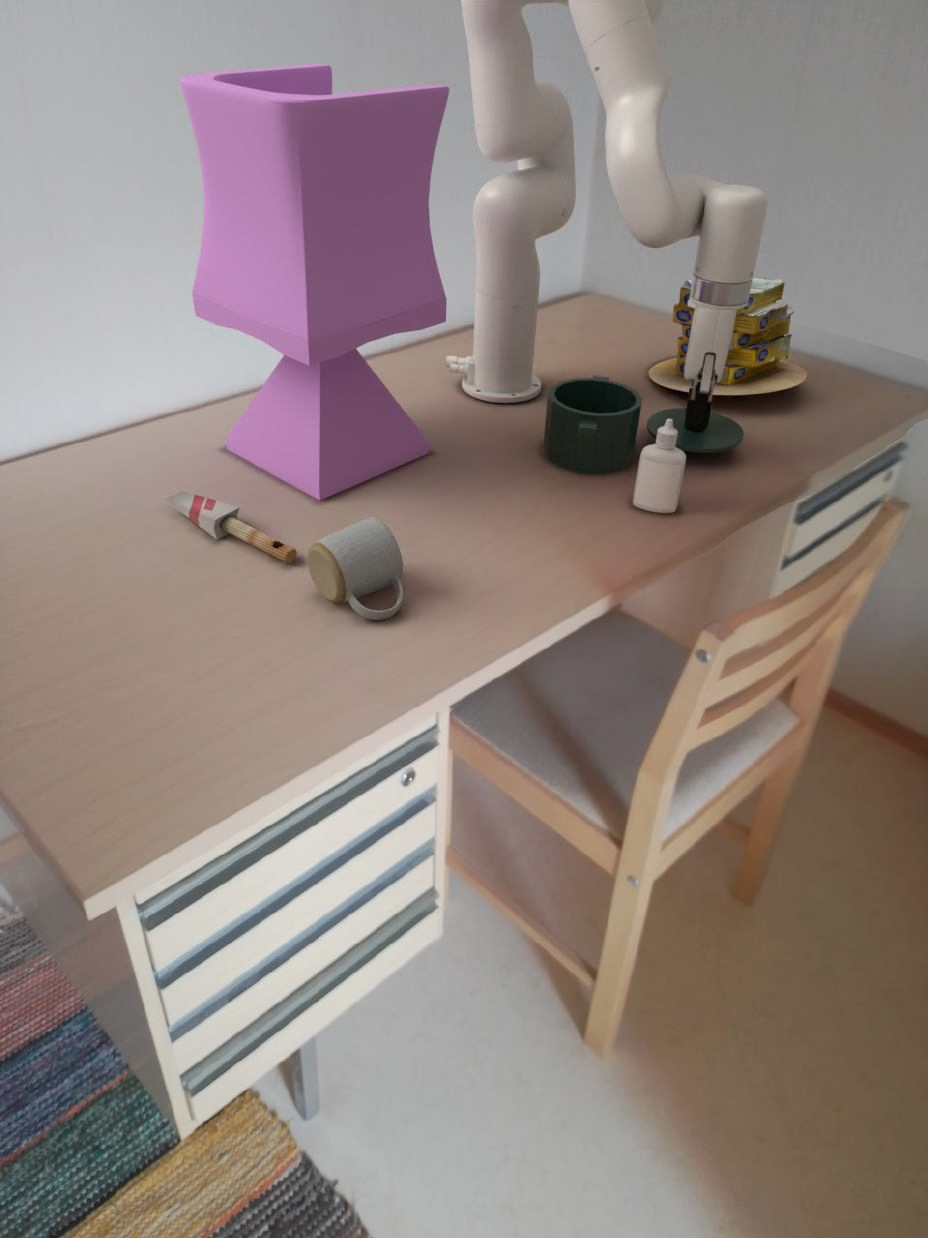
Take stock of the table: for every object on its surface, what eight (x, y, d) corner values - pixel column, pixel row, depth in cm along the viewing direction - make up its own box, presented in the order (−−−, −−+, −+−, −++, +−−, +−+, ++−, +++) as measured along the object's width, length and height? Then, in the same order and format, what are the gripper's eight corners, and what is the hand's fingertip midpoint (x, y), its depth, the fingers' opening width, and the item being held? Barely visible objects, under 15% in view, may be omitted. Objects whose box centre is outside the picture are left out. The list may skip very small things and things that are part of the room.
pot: (534, 475, 128) (539, 416, 123) (552, 421, 143) (558, 366, 138) (628, 488, 126) (637, 429, 121) (637, 431, 141) (645, 376, 136)
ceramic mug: (304, 587, 105) (300, 527, 100) (365, 562, 109) (364, 504, 105) (360, 635, 99) (358, 573, 94) (422, 607, 103) (424, 547, 98)
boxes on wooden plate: (618, 371, 160) (632, 269, 150) (724, 346, 171) (744, 250, 161) (723, 427, 143) (747, 316, 133) (833, 396, 154) (863, 292, 144)
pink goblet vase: (442, 453, 133) (452, 85, 106) (318, 508, 119) (293, 103, 92) (336, 404, 144) (321, 62, 118) (212, 449, 131) (163, 75, 104)
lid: (642, 449, 132) (649, 407, 128) (648, 410, 142) (654, 371, 139) (743, 461, 129) (752, 419, 126) (741, 421, 140) (750, 381, 137)
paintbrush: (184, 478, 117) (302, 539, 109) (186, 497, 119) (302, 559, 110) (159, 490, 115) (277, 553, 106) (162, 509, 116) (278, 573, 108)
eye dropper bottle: (661, 520, 120) (677, 432, 113) (626, 503, 123) (640, 416, 116) (682, 509, 122) (699, 422, 115) (647, 493, 125) (662, 407, 118)
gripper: (692, 269, 131) (671, 396, 142) (689, 306, 118) (666, 442, 129) (748, 274, 130) (722, 401, 141) (751, 312, 117) (723, 449, 128)
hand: (696, 420), depth 135 cm, fingers closed on lid, 3 cm apart
